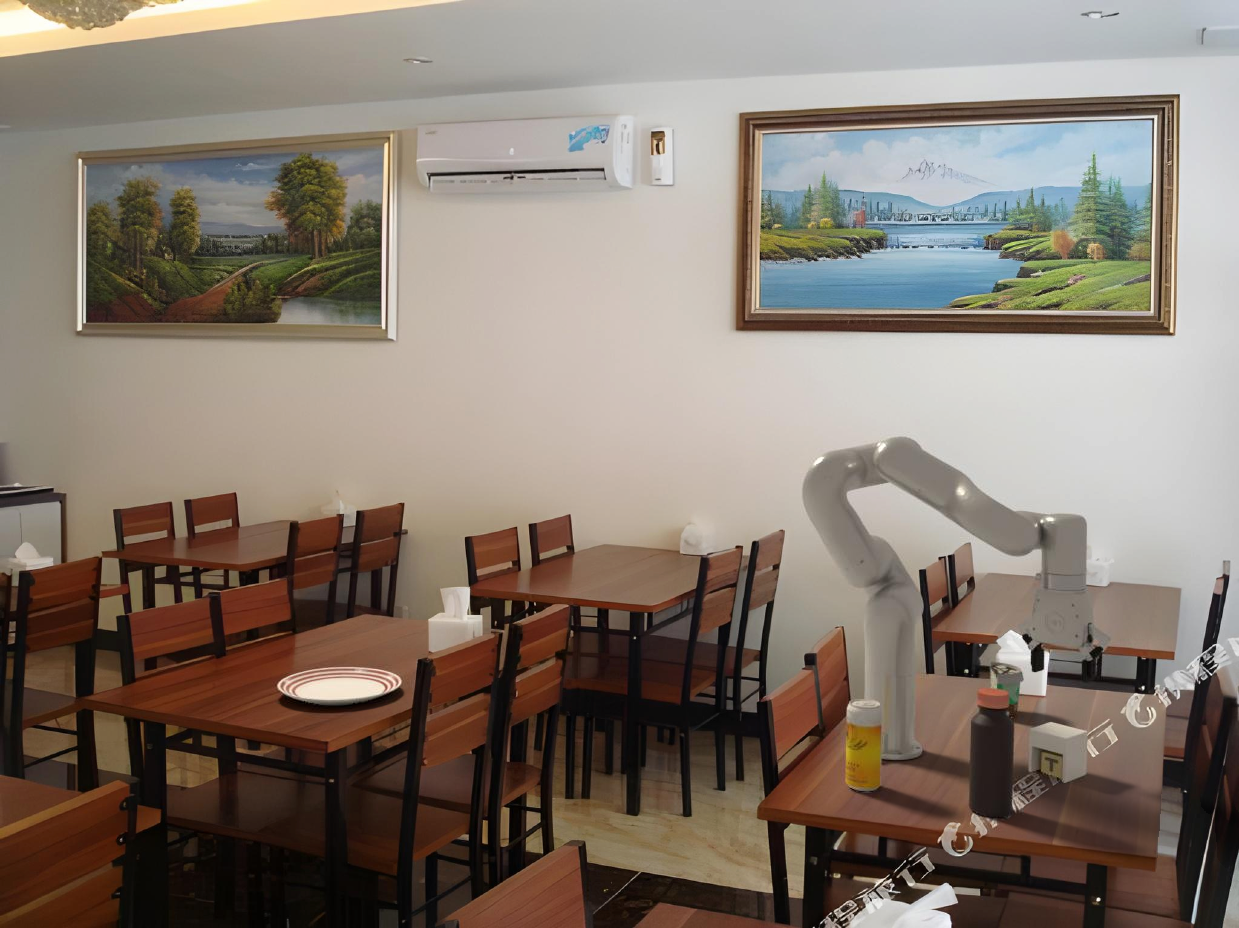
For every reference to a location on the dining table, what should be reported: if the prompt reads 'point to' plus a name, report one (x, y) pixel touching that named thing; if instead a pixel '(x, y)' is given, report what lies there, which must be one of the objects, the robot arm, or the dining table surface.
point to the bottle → (991, 755)
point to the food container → (1007, 683)
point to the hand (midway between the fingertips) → (1062, 676)
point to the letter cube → (1052, 763)
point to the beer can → (863, 744)
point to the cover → (1059, 748)
